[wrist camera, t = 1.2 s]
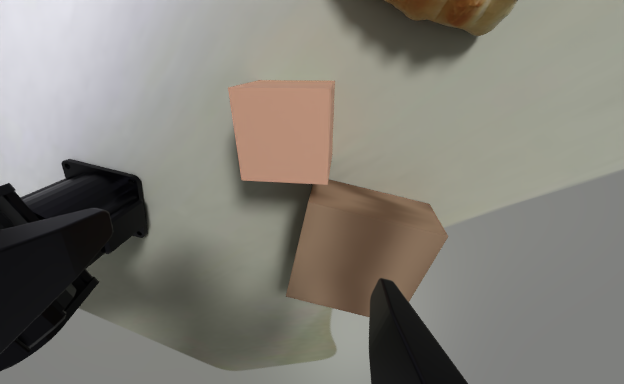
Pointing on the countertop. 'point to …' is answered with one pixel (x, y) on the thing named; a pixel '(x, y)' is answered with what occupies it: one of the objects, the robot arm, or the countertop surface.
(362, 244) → the brown wooden square block
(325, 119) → the terracotta cube
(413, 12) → the pastry
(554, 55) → the countertop surface
